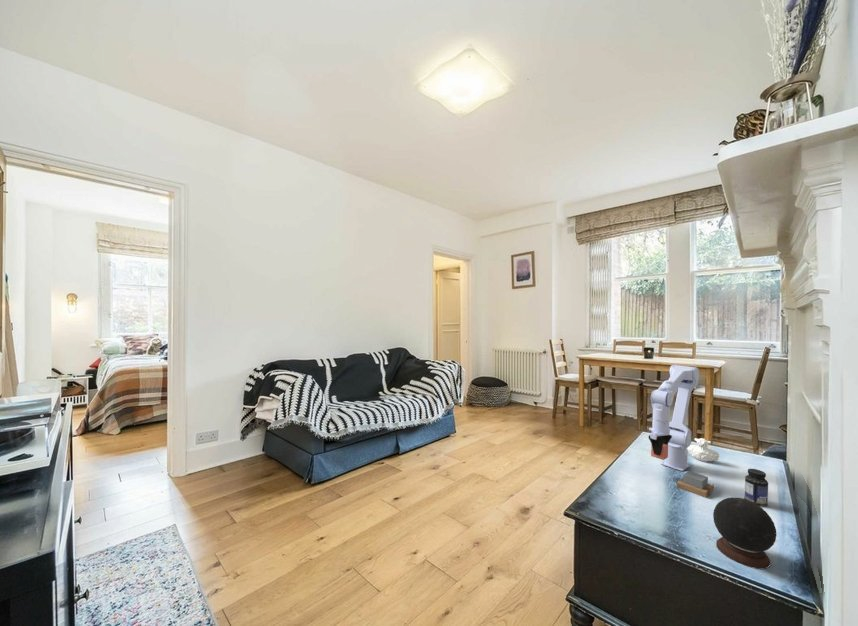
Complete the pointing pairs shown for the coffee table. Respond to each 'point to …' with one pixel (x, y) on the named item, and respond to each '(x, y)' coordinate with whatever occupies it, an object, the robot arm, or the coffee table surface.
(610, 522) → the coffee table surface
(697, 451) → the white lumpy piece
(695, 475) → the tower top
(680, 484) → the tower base
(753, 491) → the pill bottle
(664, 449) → the stack block
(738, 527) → the black and brown oval
